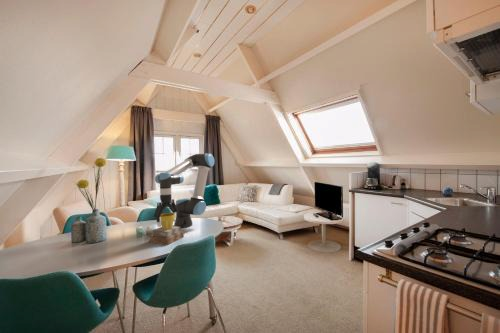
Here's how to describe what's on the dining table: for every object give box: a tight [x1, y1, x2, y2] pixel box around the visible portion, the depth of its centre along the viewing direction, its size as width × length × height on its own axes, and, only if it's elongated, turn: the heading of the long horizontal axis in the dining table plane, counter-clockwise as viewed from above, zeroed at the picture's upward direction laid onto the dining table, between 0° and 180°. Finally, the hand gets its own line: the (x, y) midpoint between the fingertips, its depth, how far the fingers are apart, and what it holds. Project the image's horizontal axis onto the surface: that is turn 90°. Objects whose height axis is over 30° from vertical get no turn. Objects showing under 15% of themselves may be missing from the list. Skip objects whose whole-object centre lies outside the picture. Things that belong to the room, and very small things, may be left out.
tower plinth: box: [149, 225, 185, 246], centre depth 157 cm, size 16×16×8 cm
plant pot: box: [160, 212, 176, 230], centre depth 157 cm, size 10×10×10 cm
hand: (166, 224), depth 157 cm, fingers open, 13 cm apart
